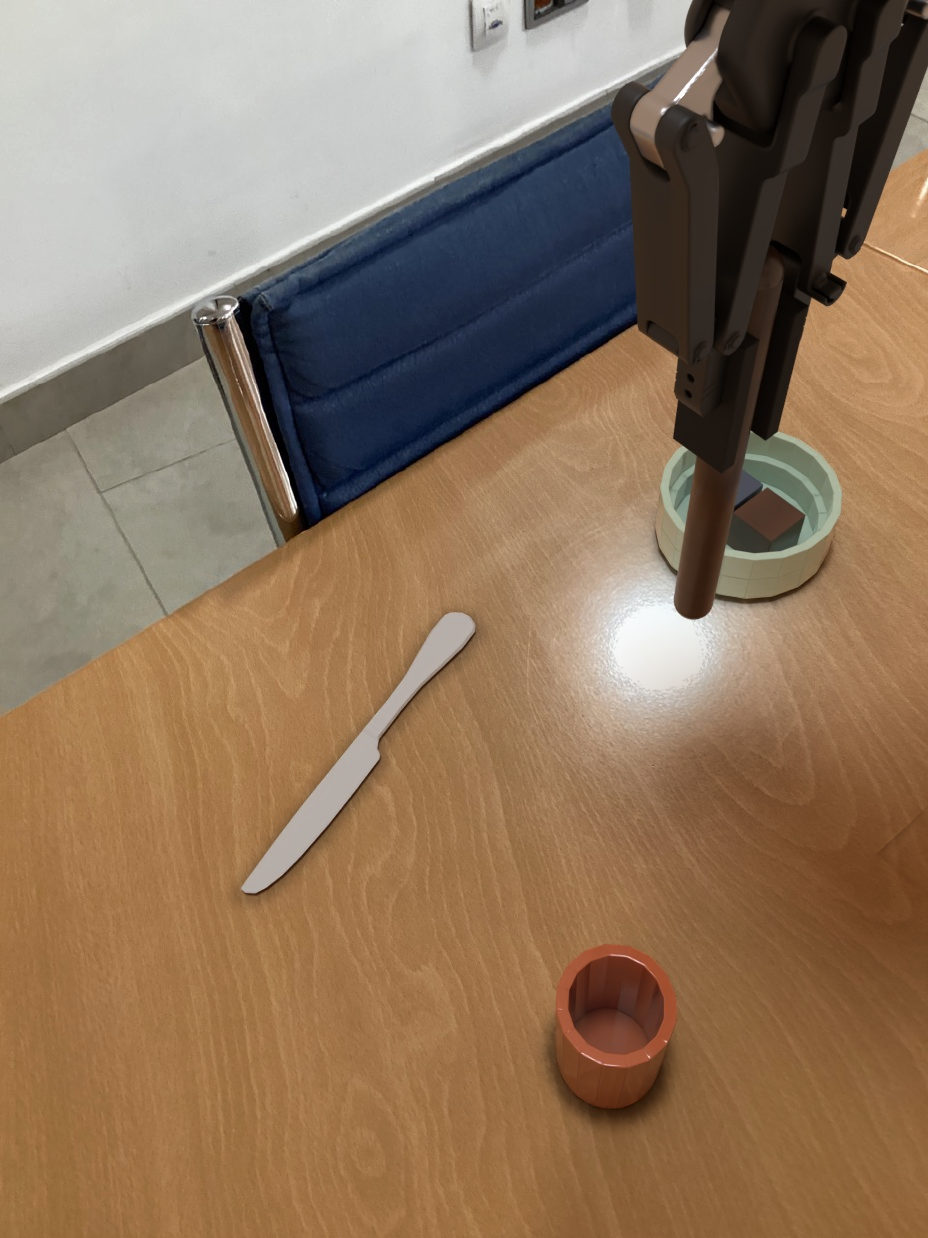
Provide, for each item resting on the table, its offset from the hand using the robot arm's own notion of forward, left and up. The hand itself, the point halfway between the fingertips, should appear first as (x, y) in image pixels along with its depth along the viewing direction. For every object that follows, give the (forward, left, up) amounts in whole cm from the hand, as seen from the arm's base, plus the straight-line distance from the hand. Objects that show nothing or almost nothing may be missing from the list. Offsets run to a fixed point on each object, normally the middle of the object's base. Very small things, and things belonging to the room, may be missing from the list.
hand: (725, 434), depth 44 cm
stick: (0, 0, -13) cm, 13 cm away
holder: (-11, +15, -29) cm, 34 cm away
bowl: (+9, -17, -29) cm, 35 cm away
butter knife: (+13, +14, -29) cm, 35 cm away
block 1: (+11, -17, -28) cm, 35 cm away
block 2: (+7, -17, -28) cm, 34 cm away
